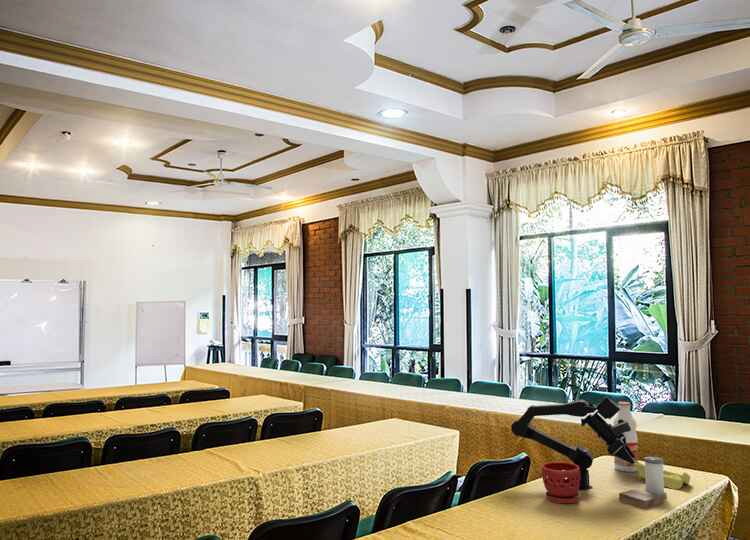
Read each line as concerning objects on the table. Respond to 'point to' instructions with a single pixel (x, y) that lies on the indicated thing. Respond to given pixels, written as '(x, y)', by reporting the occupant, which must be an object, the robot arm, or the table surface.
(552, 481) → the plant pot
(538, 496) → the table surface
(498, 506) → the table surface
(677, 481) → the plastic component
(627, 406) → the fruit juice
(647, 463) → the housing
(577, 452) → the robot arm
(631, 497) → the stand
